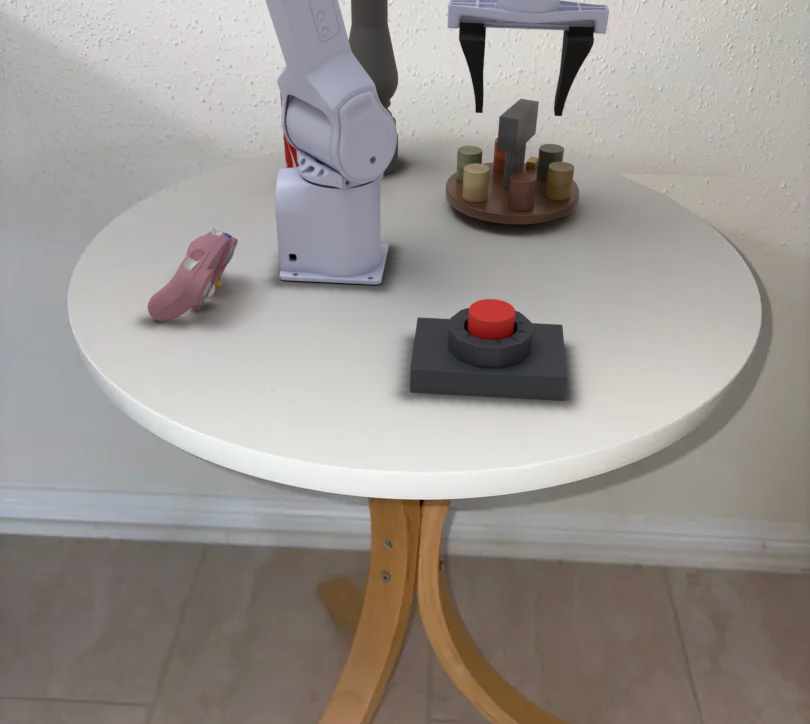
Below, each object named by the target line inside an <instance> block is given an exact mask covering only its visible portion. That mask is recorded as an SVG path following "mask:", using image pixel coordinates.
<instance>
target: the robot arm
mask: <svg viewBox="0 0 810 724" xmlns="http://www.w3.org/2000/svg"><path fill="white" fill-rule="evenodd" d="M264 1H265V4H266V7H267V10H268V13H269V15H270V19H271V23H272V25H273V29H274V31H275V35H276V37H277V40H278V43H279V44H278V45H279V47H280V51H281V53H282V57H283V59H284V62H285V66H286V67H285V66H284V67H285V69H284V70H283V72H282V71H281V73H280V74H279V76H278V77H277V79H276V81H277V82H276V83H277V86H278V89H279V94H280V93H281V97H282V109H281V115H280V123H281V128H282V133H283V132H284V135H285V137H286V139H287V140H288V142H289V143H290V144H291V145H292V146H293V147H294V148H296V150H297V163H299V167H294V168H286V167H283V168H282V167H281V168H280V169H279V171H278V173H277V176H276V181H275V190H274V208H275V209H274V210H275V211H274V212H275V225H276V235H277V245H278V246H277V247H278V258H279V268H280V270H279V271H280V272H279V275H278V276H279V279H280V280H281V281H292V282H311V283H312V282H313V283H314V282H315V283H331V284H332V283H334V284H353V285H356V284H357V285H358V284H359V285H377V286H378V285H380V284H382V281H383V277H384V271H385V266H386V262H387V256H388V253H389V243H387V242H382V239H381V238H382V235H381V234H382V231H381V229H382V227H381V225H382V224H381V223H382V222H381V213H382V212H381V180H382V179H384V175H383V172H384V171H385V169H386V168H387V167H388V165H389V164H390V162H391V160H392V158H393V156H394V153H395V149H396V144H397V134H398V132H397V131H398V130H397V124H396V125H395V122H394V120H393V118H392V116H393V115H392V116H391V115H390V113H389V112H388V111H387V110H386V109H385V108H384V107H383V105H382V104H381V102H380V100H379V98H378V95H377V91H376V87H375V84H374V82H373V81H372V79H371V78H370V77H369V75H368V74H367V72H366V71H365V70H364V68H363V67H362V66H361V64H360V63H359V62H358V60H357V59H356V57H355V56H354V54H353V53H352V51H351V48H350V44H349V36H348V33H347V28H346V26H345V21H344V18H343V17H344V16H343V14H342V11H341V5H340V2H339V0H264ZM447 8H448V9H447V29H456V30H457V29H459V32H458V40H459V45H460V47H461V50H462V53H463V56H464V58H465V62H466V64H467V68H468V71H469V74H470V79H471V83H472V88H473V95H474V105H475V106H474V107H475V108H474V109H475V110H474V112H475V114H483V113H484V112H483V111H484V96H485V95H484V94H485V93H484V91H485V90H484V89H485V88H484V69H485V68H484V67H485V55H486V54H485V52H486V37H487V36H486V35H487V28H489V29H514V30H515V29H518V30H541V31H542V30H544V31H545V30H546V31H547V30H548V31H563V34H562V35H563V36H562V46H561V57H560V66H559V74H558V78H557V83H556V84H557V85H556V90H555V94H554V103H553V113H554V116H555V117H562V116H563V112H564V108H565V104H566V101H567V98H568V95H569V92H570V90H571V88H572V85H573V84H574V81H575V79H576V77H577V76H578V73H579V71H580V69H581V67H582V66H583V64H584V62H585V61H586V59H587V57H588V56H589V54H590V53H591V51H592V48H593V46H594V43H595V37H594V34H598V35H605V34H606V35H607V30H608V29H607V28H608V22H609V15H610V9H609V5H608V4H594V3H585V2H576V1H569V0H448V7H447ZM281 97H280V98H281ZM284 135H283V136H284Z"/></svg>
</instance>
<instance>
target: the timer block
mask: <svg viewBox="0 0 810 724" xmlns="http://www.w3.org/2000/svg"><path fill="white" fill-rule="evenodd" d="M468 314H469V307H467V308H463V309H460V310H459V311H458V312H456V313H455V314H454V315H452V316H451V317H450V318H439V317H438V318H436V317H419V316H418V317H417V318H416V325H415V326H416V327H415V332H414V339H413V340H414V341H413V347H412V355H411V362H410V368H409V393H413V394H429V395H430V394H431V395H432V394H433V395H448V396H469V397H470V396H471V397H485V398H487V397H488V398H504V399H505V398H506V399H520V400H521V399H523V400H539V401H540V400H542V401H556V402H557V401H559V402H563V401H564V400H565V395H566V387H567V382H568V373H567V360H566V349H565V338H564V327H563V326H564V325H563V324H556V323H538V322H532V321H531V320H530V319H529V318H528V317H527V316H525V315H524V314H523V313H522V312H521V311H517V310H515V321H514V331H513V334H512V335H511V336H510V337H508V338H504V339H500V340H484V339H481V338H478V337H475V336H472V335H471V334H470V333H469V332H468Z"/></svg>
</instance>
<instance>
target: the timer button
mask: <svg viewBox="0 0 810 724" xmlns="http://www.w3.org/2000/svg"><path fill="white" fill-rule="evenodd" d="M468 308H469V314H468V332H469V333H470V334H471V335H472V336H475V337H478V338H481V339H484V340H500V339H504V338H508V337H510V336H511V335H512V334H513V331H514V321H515V311H516V309H515V307H514V305H512V304H511V303H509V302H508V301H505V300H501V299H497V298H496V299H495V298H484V299H480V300H476V301H474V302H473V303H471V304H470V306H469V307H468Z"/></svg>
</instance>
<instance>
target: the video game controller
mask: <svg viewBox="0 0 810 724" xmlns="http://www.w3.org/2000/svg"><path fill="white" fill-rule="evenodd" d="M238 241H239V240H238V238H236V237H235V236H232V235H231V234H229V233H228V232H225V231H218V230H216V229H215V227H213V228H212V229H211V231H208V232H207V233H206V234H203V235H202V236H198V237H197V238H195V239H194V240H192V241H191V242H190V243H189V245H188V248H187V251H186V255H185V257H184V259H183V260H182V261H181V263H180V264H179V266H178V268H177V270H176V272H175V274H174V276H173V277H171V279H170V280H169V281H168V283H166V285H164V286H163V287H162V288H160V289H159V290H158V291H156V292H155V293H154V294H153V295H152V296H151V297H150V298H149V301H148V303H147V312H148V314H149V316H150V317H151V318H152V319H154V320H155V321H160V322H166V321H173V320H175V319H177V318H180V317H181V316H183V315H184V314H186V313H187V312H188V311H189V310H191V309H193V310H194V311H196V312H199V311H200V309H201V307H202V306H203V304H204V302H205V301H206V298H208V299H209V298H211V297H213V296H214V294H215V291H216V289H219V288H220V287H221V285H222V280H221V278H222V275H223V273H224V271H225V270H226V268H227V266H228V265H229V264H230V262H231V260H232V259H233V257H234V254H235V250H236V248H237V246H238Z"/></svg>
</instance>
